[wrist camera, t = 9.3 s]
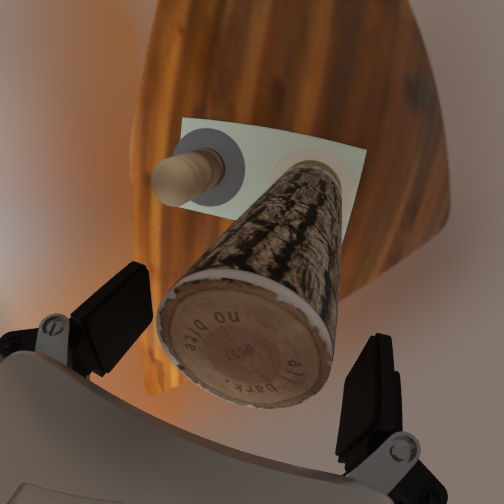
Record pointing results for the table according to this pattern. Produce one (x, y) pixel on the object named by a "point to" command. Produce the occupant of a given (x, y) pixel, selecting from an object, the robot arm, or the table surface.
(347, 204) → the cream pad
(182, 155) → the beige rounded cylinder
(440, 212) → the table surface
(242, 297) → the brown bark cylinder
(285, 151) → the board
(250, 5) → the table surface
